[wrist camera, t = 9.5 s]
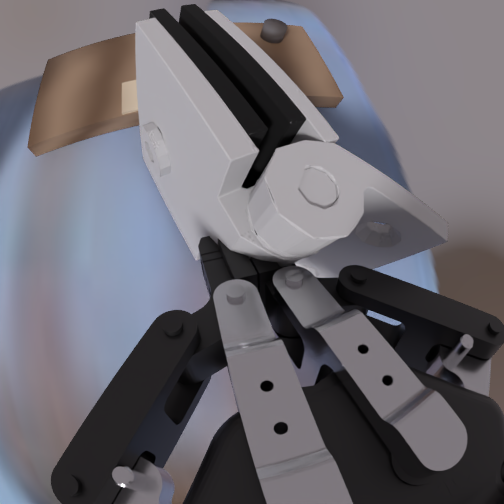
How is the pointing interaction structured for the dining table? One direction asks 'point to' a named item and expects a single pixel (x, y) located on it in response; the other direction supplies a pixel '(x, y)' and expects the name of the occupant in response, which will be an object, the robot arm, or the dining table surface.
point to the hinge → (261, 156)
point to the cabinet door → (125, 88)
